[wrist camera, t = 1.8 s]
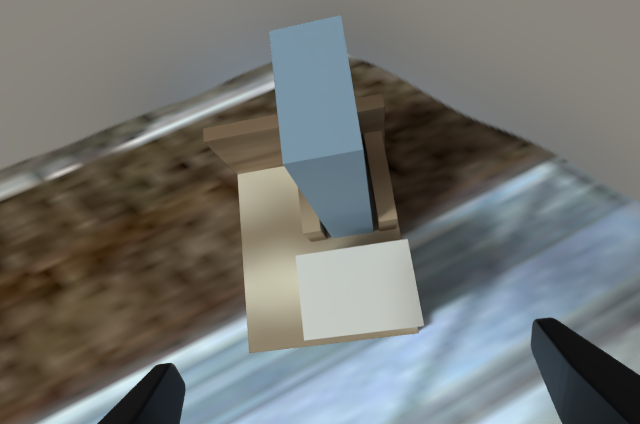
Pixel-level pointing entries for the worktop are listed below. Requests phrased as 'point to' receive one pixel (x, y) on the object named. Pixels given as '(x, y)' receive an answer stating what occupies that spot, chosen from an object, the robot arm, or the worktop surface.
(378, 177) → the stand
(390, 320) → the upper offcut
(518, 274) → the worktop surface
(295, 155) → the blue rectangular block
